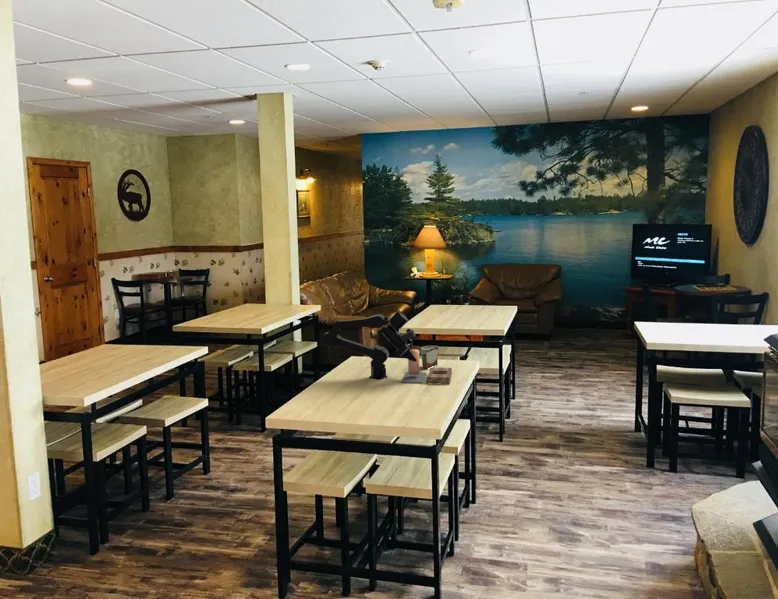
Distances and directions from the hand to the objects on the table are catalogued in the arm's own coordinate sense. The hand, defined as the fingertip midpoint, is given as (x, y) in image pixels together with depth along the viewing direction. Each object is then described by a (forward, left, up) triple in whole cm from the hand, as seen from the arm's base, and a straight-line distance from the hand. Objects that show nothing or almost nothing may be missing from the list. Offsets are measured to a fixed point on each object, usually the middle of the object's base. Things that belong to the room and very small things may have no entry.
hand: (416, 359), depth 307 cm
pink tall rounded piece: (-1, -1, -7) cm, 7 cm away
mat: (-1, -1, -9) cm, 9 cm away
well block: (+9, +5, -9) cm, 14 cm away
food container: (-9, +21, -9) cm, 24 cm away
